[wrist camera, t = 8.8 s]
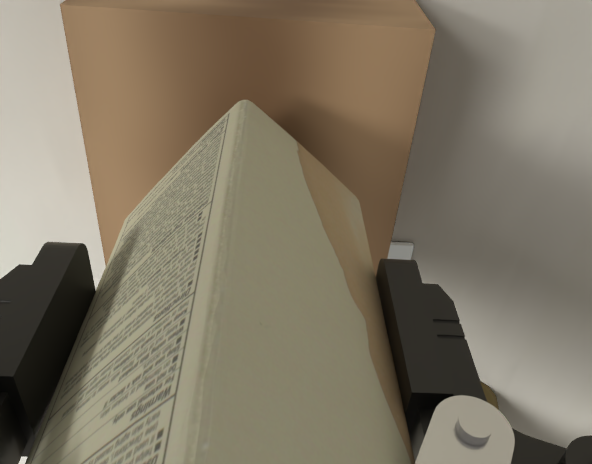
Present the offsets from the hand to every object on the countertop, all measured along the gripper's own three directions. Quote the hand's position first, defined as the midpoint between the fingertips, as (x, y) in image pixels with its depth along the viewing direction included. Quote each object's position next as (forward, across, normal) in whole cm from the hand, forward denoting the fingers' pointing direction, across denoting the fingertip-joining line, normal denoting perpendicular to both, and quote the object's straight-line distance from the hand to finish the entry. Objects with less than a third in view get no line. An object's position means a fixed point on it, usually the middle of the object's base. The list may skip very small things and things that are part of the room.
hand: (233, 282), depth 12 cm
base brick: (+9, 0, 0) cm, 9 cm away
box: (+3, 0, 0) cm, 3 cm away
